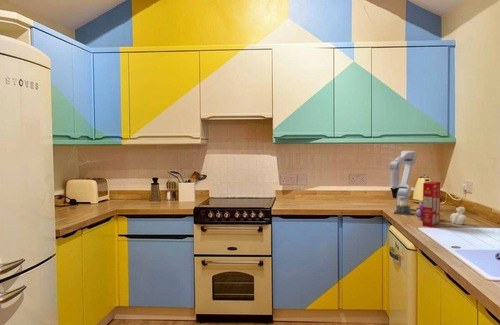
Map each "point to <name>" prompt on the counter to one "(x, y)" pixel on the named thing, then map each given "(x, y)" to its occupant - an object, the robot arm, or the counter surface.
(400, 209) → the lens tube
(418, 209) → the toy camera
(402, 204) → the plug
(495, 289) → the counter surface
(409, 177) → the robot arm
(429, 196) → the food packaging
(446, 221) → the counter surface
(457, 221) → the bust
